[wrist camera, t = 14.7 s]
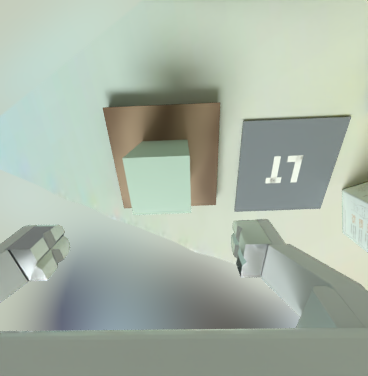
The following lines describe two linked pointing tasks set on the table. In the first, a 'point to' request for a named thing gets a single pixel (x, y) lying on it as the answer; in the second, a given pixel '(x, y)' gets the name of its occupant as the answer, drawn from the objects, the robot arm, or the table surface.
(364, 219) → the small box
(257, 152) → the gray tile
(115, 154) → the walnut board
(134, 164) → the sage block
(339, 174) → the table surface
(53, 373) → the robot arm
